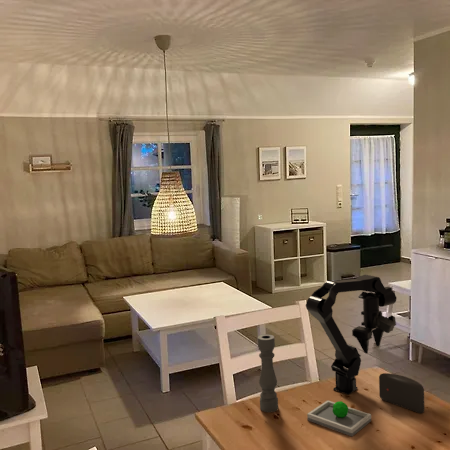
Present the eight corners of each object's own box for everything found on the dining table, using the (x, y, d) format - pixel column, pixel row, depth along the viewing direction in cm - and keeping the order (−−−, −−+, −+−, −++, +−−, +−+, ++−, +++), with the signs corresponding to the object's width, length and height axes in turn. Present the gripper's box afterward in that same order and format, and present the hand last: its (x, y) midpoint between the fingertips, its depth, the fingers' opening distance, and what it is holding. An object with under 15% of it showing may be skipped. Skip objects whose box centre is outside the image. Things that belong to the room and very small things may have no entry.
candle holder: (257, 411, 169) (254, 339, 166) (263, 402, 174) (260, 333, 172) (275, 413, 166) (272, 340, 164) (280, 405, 172) (277, 334, 169)
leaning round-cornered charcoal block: (429, 410, 163) (429, 383, 162) (422, 415, 160) (422, 387, 159) (385, 395, 175) (385, 369, 174) (378, 399, 172) (377, 373, 171)
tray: (307, 420, 161) (307, 413, 160) (327, 406, 169) (327, 400, 169) (352, 436, 149) (351, 429, 149) (371, 420, 158) (371, 414, 158)
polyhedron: (350, 415, 160) (350, 401, 160) (345, 421, 156) (344, 407, 156) (336, 411, 163) (335, 397, 163) (330, 418, 159) (329, 403, 159)
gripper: (379, 318, 173) (380, 362, 174) (403, 306, 186) (403, 346, 188) (350, 313, 180) (352, 355, 182) (375, 302, 194) (376, 341, 195)
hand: (372, 349), depth 186 cm, fingers open, 9 cm apart
